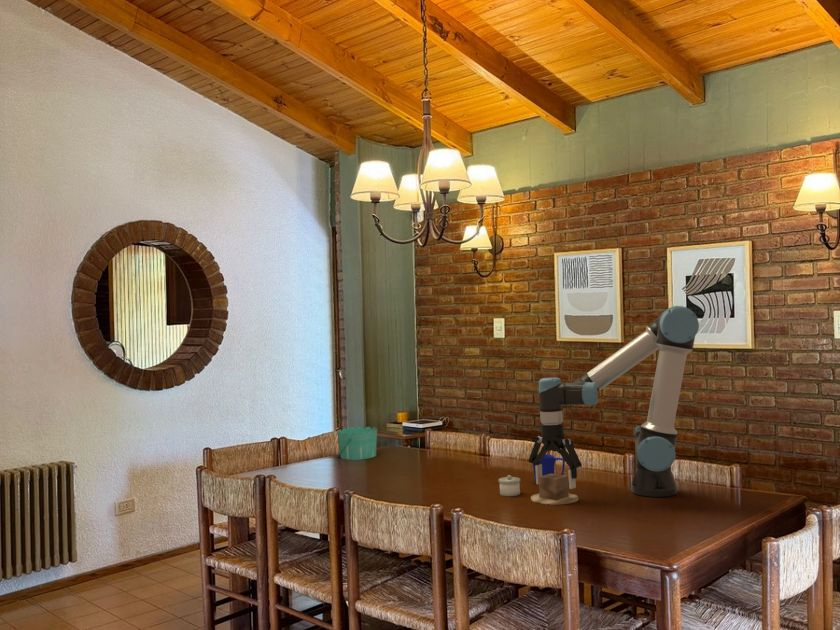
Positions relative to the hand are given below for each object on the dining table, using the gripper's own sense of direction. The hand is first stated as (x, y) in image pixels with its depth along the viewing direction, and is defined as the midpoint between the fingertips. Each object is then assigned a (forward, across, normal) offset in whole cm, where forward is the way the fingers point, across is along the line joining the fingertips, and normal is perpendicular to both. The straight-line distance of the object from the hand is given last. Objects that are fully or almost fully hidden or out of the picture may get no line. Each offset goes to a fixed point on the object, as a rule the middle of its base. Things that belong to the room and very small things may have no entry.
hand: (555, 486), depth 253 cm
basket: (+2, +122, -13) cm, 123 cm away
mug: (+4, +18, -20) cm, 27 cm away
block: (+4, +1, 0) cm, 4 cm away
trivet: (+4, +1, 0) cm, 4 cm away
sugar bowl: (+4, +18, +3) cm, 18 cm away
